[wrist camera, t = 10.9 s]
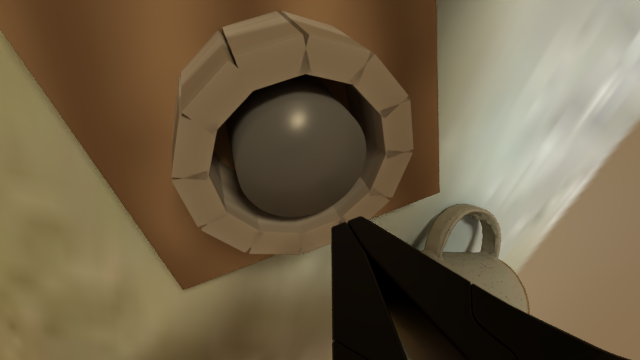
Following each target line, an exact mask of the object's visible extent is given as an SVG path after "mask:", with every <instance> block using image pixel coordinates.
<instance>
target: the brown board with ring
mask: <svg viewBox="0 0 640 360" xmlns="http://www.w3.org/2000/svg"><path fill="white" fill-rule="evenodd" d="M0 30H1V31H2V33H3V34H4V35H5V37H6V38H7V40H8V41H9V42H10V44H11V45H12V47H13V48H14V50H15V51H16V52H17V54H18V55H19V57H20V58H21V60H22V61H23V62H24V64H25V65H26V67H27V68H28V70H29V71H30V72H31V74H32V75H33V77H34V78H35V80H36V81H37V82H38V84H39V85H40V87H41V88H42V90H43V91H44V92H45V94H46V95H47V97H48V98H49V100H50V101H51V102H52V104H53V105H54V107H55V108H56V110H57V111H58V112H59V114H60V115H61V117H62V118H63V119H64V121H65V122H66V124H67V125H68V127H69V128H70V129H71V131H72V132H73V134H74V135H75V137H76V138H77V139H78V141H79V142H80V144H81V145H82V147H83V148H84V149H85V151H86V152H87V154H88V155H89V157H90V158H91V159H92V161H93V162H94V164H95V165H96V167H97V168H98V169H99V171H100V172H101V174H102V175H103V177H104V178H105V179H106V181H107V182H108V184H109V185H110V186H111V188H112V189H113V191H114V192H115V194H116V195H117V196H118V198H119V199H120V201H121V202H122V204H123V205H124V206H125V208H126V209H127V211H128V212H129V214H130V215H131V216H132V218H133V219H134V221H135V222H136V224H137V225H138V226H139V228H140V229H141V231H142V232H143V234H144V235H145V236H146V238H147V239H148V241H149V242H150V244H151V245H152V246H153V248H154V249H155V251H156V252H157V254H158V255H159V256H160V258H161V259H162V261H163V262H164V263H165V265H166V266H167V268H168V269H169V271H170V272H171V273H172V275H173V276H174V278H175V279H176V281H177V282H178V283H179V285H180V286H181V288H182V289H183V290H184V289H187V288H190V287H192V286H195V285H197V284H200V283H203V282H205V281H208V280H211V279H213V278H216V277H218V276H221V275H224V274H226V273H229V272H232V271H234V270H237V269H239V268H242V267H245V266H247V265H250V264H253V263H255V262H258V261H261V260H263V259H266V258H268V257H271V256H274V255H276V254H289V255H299V252H300V249H301V250H302V252H303V254H304V253H307V252H309V251H312V250H314V249H317V248H320V247H322V246H325V245H327V244H330V243H331V228H332V227H333V226H335V225H338V224H340V223H343V222H346V223H347V222H348V221H349V220H351V219H353V218H356V217H359V216H362V217H364V218H366V219H368V220H369V219H371V218H374V217H376V216H379V215H381V214H384V213H387V212H389V211H392V210H395V209H397V208H400V207H402V206H405V205H408V204H410V203H413V202H416V201H418V200H421V199H423V198H426V197H429V196H431V195H434V194H437V193H439V192H440V188H439V131H438V75H437V18H436V0H0ZM303 74H308V75H312V76H316V77H317V78H318V79H320V81H321V82H322V83H323V84H324V85H325V86H326V87H327V88H328V89H329V91H330V92H331V93H332V94H333V95H334V96H335V97H336V98H337V99H338V101H339V102H340V103H341V104H342V105H343V106H344V107H345V108H346V110H347V111H348V112H349V113H350V114H351V115H352V116H353V117H354V118H355V120H356V121H357V122H358V124H359V125H360V127H361V129H362V131H363V133H364V137H365V141H366V159H365V164H364V167H363V170H362V172H361V175H360V177H359V178H358V180H357V182H356V183H355V185H354V186H353V187H352V189H351V190H350V191H349V192H348V193H347V194H346V195H345V196H344V197H343V198H342V199H340V200H339V201H338V202H336V203H335V204H334V205H332V206H330V207H328V208H327V209H324V210H322V211H320V212H317V213H314V214H311V215H306V216H300V217H284V216H278V215H273V214H271V213H268V212H265V211H263V210H262V209H260V208H258V207H257V206H255V205H254V204H253V203H252V202H251V201H250V200H249V199H248V198H247V197H246V195H245V194H244V192H243V191H242V189H241V187H240V184H239V181H238V177H237V173H236V169H235V164H234V160H233V155H232V151H231V147H230V142H229V138H228V134H227V129H226V120H227V119H228V117H229V116H230V115H231V114H232V113H233V112H234V111H235V110H236V109H237V108H238V107H239V106H240V105H241V103H242V102H243V101H244V100H245V99H246V98H247V97H248V96H249V95H250V94H251V93H252V92H253V91H254V90H257V89H260V88H263V87H266V86H270V85H273V84H276V83H279V82H282V81H285V80H288V79H291V78H294V77H297V76H300V75H303Z"/></svg>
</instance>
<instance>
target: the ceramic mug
mask: <svg viewBox="0 0 640 360" xmlns="http://www.w3.org/2000/svg"><path fill="white" fill-rule="evenodd" d="M466 215H469V216H472V217H473V218H474V219H475V220H480V222H481V225H482V233H483V239H482V247H481V251H480V252H479V253H477V252H476V253H473V252H442V251H443V248H444V246H445V244H446V242H447V239H448V236H449V235H450V233H451V231H452V229H453V228H454V226H455V225H456V223H457V222H458V221H459V220H461V219H462V218H463V217H464V216H466ZM500 243H501V234H500V226H499V224H498V222H497V220H496V219H495V217H494V216H493V215H492V214H491V213H490V212H488V211H487V210H484V209H482V208H479V207H476V206H472V205H468V204H456V205H453V206H451V207H449V208H447V209H446V210H445V211H443V212H442V213H441V214H440V215H439V216H438V218H437V219H436V220H435V221H434V223H433V225H432V227H431V230H430V232H429V235H428V237H427V240H426V244H425V247H424V250H423V251H421V252H422V253H424V254H426V255H427V256H429V257H431V258H432V259H434V260H436V261H437V262H439V263H441V264H442V265H444V266H445V267H447V268H449V269H450V270H452V271H454V272H455V273H457V274H459V275H460V276H462V277H464V278H465V279H467V280H469V281H470V282H471V284H473V283H474V284H476V285H477V286H479V287H480V288H482V289H484V290H485V291H487V292H489V293H491V294H492V295H494V296H496V297H498V298H499V299H501V300H503V301H505V302H506V303H508V304H510V305H512V306H514V307H516V308H518V309H520V310H522V311H524V312H526V313H528V314H529V301H528V297H527V294H526V291H525V288H524V286H523V285H522V282H521V281H520V279H519V277H518V276H517V274H516V273H515V272H514V271H513V270H512V269H511V268H510V267H509V266H508V265H507V264H506V263H504V262H503V261H501V260H499V259H498V256H499V251H500ZM399 339H400V338H399ZM400 341H401V340H400ZM401 344H402V346H403V349H404V352H405V354H406V357H407V359H408V360H412V358H411V356H410V355H409V353H408V351H407V350H406V348H405V347H404V345H403V343H402V342H401Z"/></svg>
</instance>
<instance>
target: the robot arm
mask: <svg viewBox="0 0 640 360" xmlns="http://www.w3.org/2000/svg"><path fill="white" fill-rule="evenodd" d="M331 252H332V340H333V343H332V360H408V359H407V357H406V354H405V352H404V349H403V346H402V344H401V342H402V343H403V345H404V347H405V348H406V350H407V351H408V353H409V355H410V356H411V358H412V360H630V359H627V358H624V357H621V356H618V355H615V354H613V353H610V352H607V351H605V350H602V349H601V348H598V347H596V346H594V345H592V344H590V343H588V342H586V341H583V340H581V339H579V338H577V337H575V336H573V335H571V334H569V333H567V332H565V331H563V330H561V329H559V328H556V327H554V326H552V325H550V324H548V323H546V322H544V321H542V320H539V319H538V318H536V317H534V316H532V315H530V314H528V313H526V312H524V311H522V310H520V309H518V308H516V307H514V306H512V305H510V304H508V303H506V302H505V301H503V300H501V299H499V298H498V297H496V296H494V295H492V294H491V293H489V292H487V291H485V290H484V289H482V288H480V287H479V286H477V285H476V284H474V283H473V284H471V282H470V281H469V280H467V279H465V278H464V277H462V276H460V275H459V274H457V273H455V272H454V271H452V270H450V269H449V268H447V267H445V266H444V265H442V264H441V263H439V262H437V261H436V260H434V259H432V258H431V257H429V256H427V255H426V254H424V253H422V252H421V251H419V250H417V249H416V248H414V247H412V246H411V245H409V244H407V243H406V242H404V241H402V240H401V239H399V238H397V237H396V236H394V235H392V234H391V233H389V232H387V231H386V230H384V229H383V228H381V227H379V226H378V225H376V224H374V223H373V222H371V221H369V220H368V219H366V218H364V217H362V216H359V217H356V218H353V219H351V220H349V221H348V222H347V223H346V222H343V223H340V224H338V225H335V226H333V227H332V228H331ZM399 338H400V339H399ZM400 340H401V341H400Z"/></svg>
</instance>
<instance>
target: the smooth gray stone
mask: <svg viewBox="0 0 640 360" xmlns="http://www.w3.org/2000/svg"><path fill="white" fill-rule="evenodd" d="M226 129H227V134H228V138H229V142H230V147H231V151H232V155H233V160H234V164H235V169H236V173H237V177H238V181H239V184H240V187H241V189H242V191H243V192H244V194H245V195H246V197H247V198H248V199H249V200H250V201H251V202H252V203H253V204H254V205H255V206H257V207H258V208H260V209H262V210H263V211H265V212H268V213H271V214H273V215H278V216H284V217H300V216H306V215H311V214H314V213H317V212H320V211H322V210H324V209H327V208H328V207H330V206H332V205H334V204H335V203H336V202H338V201H339V200H340V199H342V198H343V197H344V196H345V195H346V194H347V193H348V192H349V191H350V190H351V189H352V187H353V186H354V185H355V183H356V182H357V180H358V178H359V177H360V175H361V172H362V170H363V167H364V164H365V159H366V141H365V137H364V133H363V131H362V129H361V127H360V125H359V124H358V122H357V121H356V120H355V118H354V117H353V116H352V115H351V114H350V113H349V112H348V111H347V110H346V108H345V107H344V106H343V105H342V104H341V103H340V102H339V101H338V99H337V98H336V97H335V96H334V95H333V94H332V93H331V92H330V91H329V89H328V88H327V87H326V86H325V85H324V84H323V83H322V82H321V81H320V79H318V78H317V77H316V76H312V75H308V74H303V75H300V76H297V77H294V78H291V79H288V80H285V81H282V82H279V83H276V84H273V85H270V86H266V87H263V88H260V89H257V90H254V91H253V92H252V93H251V94H250V95H249V96H248V97H247V98H246V99H245V100H244V101H243V102H242V103H241V105H240V106H239V107H238V108H237V109H236V110H235V111H234V112H233V113H232V114H231V115H230V116H229V117H228V119H227V120H226Z"/></svg>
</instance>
